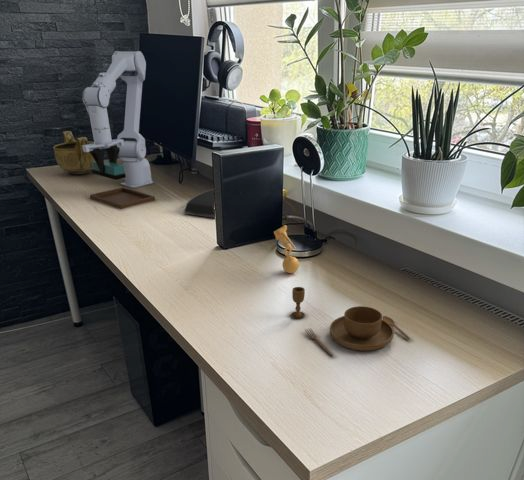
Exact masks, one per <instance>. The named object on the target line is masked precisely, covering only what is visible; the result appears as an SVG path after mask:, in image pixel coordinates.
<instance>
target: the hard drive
mask: <svg viewBox="0 0 524 480" xmlns="http://www.w3.org/2000/svg"><path fill="white" fill-rule="evenodd" d="M214 189H215V188H212V189H209V190H206V191H204V192H201V193H199V194H197V195H195V196H194V197H192V198H191V199H189V200H187V202H186V204H185V207H184V210H183V214H186V215H193V216H200V217H206V218H212V219H216V218H215V209H214Z"/></svg>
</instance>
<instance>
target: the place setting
mask: <svg viewBox="0 0 524 480" xmlns="http://www.w3.org/2000/svg"><path fill="white" fill-rule="evenodd" d="M305 291H306V289H305V288H304V287H302V286H295V287H292V291H291V293H292V295H291V296H292V300H293V302H294V303H295V305H296V306H295V311H293V312H291V313H290V316H291V318H293V319H296V320H297V319H298V320H300V319H303V318H305V315H306V314H305V313H304V312H303V311H301V310H302V308H301V303H303V302H304V300H305V294H306V292H305ZM394 328H395V330H397V331H398V332H399V333H400V334H401V335H402V336H403V337H404V338H406V339H407V340H411V337H409V336H408V334H406V333H405V331H403V330H402V329H401V328H399V327H398V326H397V325H396V324H395V321H394V320H393V318H391V317H390V316H387V315H383V314H382V313H381V312H380V311H379V310H377V308H373V307H370V306H363V305H358V306H357V305H356V306H352V307H350V308H348V309H346V310H345V312H344V315H342V316H339V317H337V318H336V319H334V320H333V321H332V322H331V323H330V326H329V333H330V336H331V338H332V339H333V340H334V342H336V343H337V344H339V345H340V346H342V347H344V348H347V349H350V350H354V351H362V352H364V351H365V352H367V351H369V352H370V351H375V350H380V349H382V348H385V347H386V346H388V345H389V344H390V343H391V342H392V340H393V339H394V335H395V330H394ZM304 331H305V332H306V335H308V337H309V339H311V340H315V342H317V343H318V344H319V346H320V347H322V349H323V350H324V351H325V352H326V353H327V354H328V355H330V356H331V357H334V355H333V353H332V352H331V351H330V350H329V349H328V348H327V346H325V344H323V343H322V342H321V341H320V340H319V339H318V338H317V335H316V334H315V333H314V331H313V329H312V328H311V327H310V328H307V329H304Z"/></svg>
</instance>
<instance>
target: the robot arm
mask: <svg viewBox="0 0 524 480" xmlns="http://www.w3.org/2000/svg"><path fill="white" fill-rule="evenodd" d="M146 71H147V61H146V59H145V56H144V54H143V53H142V51H140V50H137V51H119V50H116V51H114V52H113V54H112V55H111V63H110V65H109V67H108V68H107V70H106V72H99V73H98V76H97V78H96V79H95V80H94V81H93V82H92V84H91V85H90V86H87V87H85V88H84V90H83V91H82V97H81V98H82V99H81V100H82V102H83V105H84V106H85V108H86V112H87V113H88V117H89V121H90V126H91V131H92V137H93V141H92V142H93V143H90V144H87V145H82V146H83V151H84V152H90V154H91V155H92V157H93V158H94V160H95V161H96V163H97V165H98V168H99V170H100V172H103V173H104V172H105V166H104V161H105V158H104V156H105V152H106V154H107V158H108V162H112V163H116V164H117V161H118V159H119V160H120V161H121V162H122V164H121V165H123V167H124V173H125V175H126V178H124V182H120V185H122V186H125V187H127V188H130V189H131V188H132V189H135V188H138V187H143V186H146V185H150V184H151V185H152V184H154V181H153V179H152V172H151V171H152V170H151V165H150V162H149V160H148V159H147V158H145V157H146V154H147V147H146V139H145V137H143V135H142V134H141V133H139V132H140V119H141V109H142V108H141V106H142V96H143V95H142V93H143V82H144V81H145V80H146ZM118 78H120V79H121V80H122V81H124V82H125V83H126V97H125V111H124V123H123V130H122V131H121V132H119V134H118V135H117V138H115V139H112V135H111V134H112V132H111V127H110V121H109V114H108V109H107V108H108V106H109V105H110V98H111V94H112V93H113V92H114V91H115V88H116V87H117V82H116V81H117V80H118ZM102 150H105V152H104V151H102Z"/></svg>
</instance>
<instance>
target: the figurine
mask: <svg viewBox="0 0 524 480" xmlns="http://www.w3.org/2000/svg"><path fill="white" fill-rule="evenodd" d="M287 230H288V226H287V225H286V224H284V225H282V226H281V227H280V228H278V229H276V230H274V231H273V235H274V237H275V240H276V241H279V242H280V244H281V246H283V247H284V249H283V255H285V258H284V259H283V261H282V263H281V264H282V269H283V271H284V272H286V273H288V274H294V273H296V272H297V271H298V270H299V267H300V262H299V260H298V258H297V257H295V256H291V255H290V254H291V253H292V251H293V249H294V250H295V252H296V251H297V252H298V248H297V247H296V246H295V244H294V243H293V242H292V241H291V239H290V238H289V236H288V233H287ZM287 250H288V251H287ZM286 252H287V253H286Z"/></svg>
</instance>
